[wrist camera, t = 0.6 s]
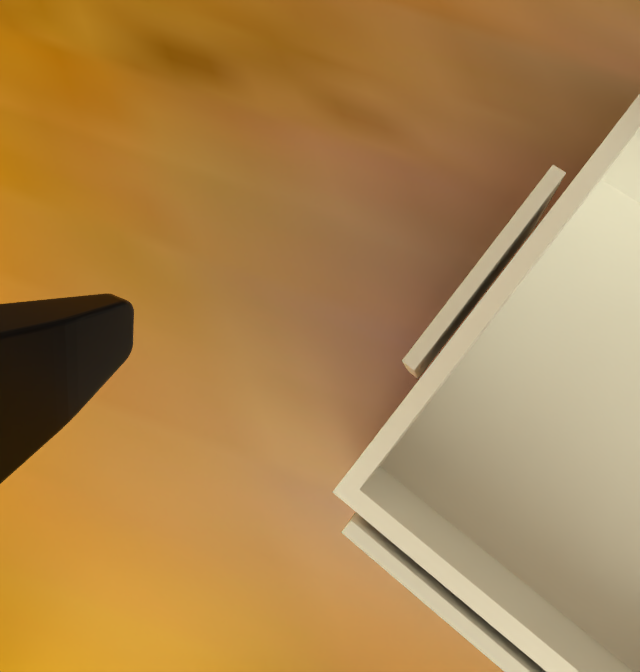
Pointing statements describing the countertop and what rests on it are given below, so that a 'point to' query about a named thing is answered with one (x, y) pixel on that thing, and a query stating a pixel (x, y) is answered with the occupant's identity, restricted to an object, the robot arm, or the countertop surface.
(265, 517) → the countertop surface
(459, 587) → the carton
